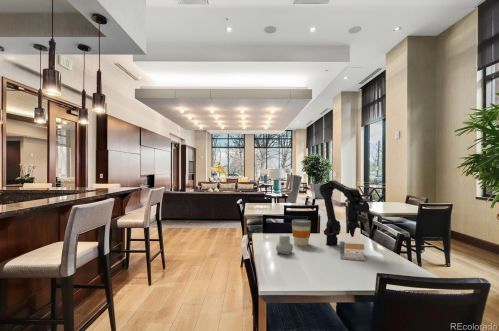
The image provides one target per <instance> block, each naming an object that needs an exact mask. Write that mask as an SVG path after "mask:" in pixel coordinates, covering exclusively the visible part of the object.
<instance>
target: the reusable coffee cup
mask: <svg viewBox="0 0 499 331" xmlns="http://www.w3.org/2000/svg"><path fill="white" fill-rule="evenodd" d="M311 226H312V221H311V220H308V219H302V218H301V219H299V218H297V219H296V218H295V219H292V220H291V227H292V228H291V232H292V237H293V243H294V245H295V246H303V247H304V246H308V245H309V241H310V240H309V239H310V237H311Z"/></svg>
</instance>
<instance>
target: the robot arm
mask: <svg viewBox="0 0 499 331" xmlns="http://www.w3.org/2000/svg"><path fill="white" fill-rule="evenodd" d="M318 190H319V193H320V195H321V196H322V198H323V201H324V205H325V211H326V217H327V220H326V223H325V224H326V225H325V226H326V228H325V229H324V230H323V235H324V236H326V245H325V246H333V247H337V246H338V243H339V242H338V239H339V237H338V236H339V235H340V233H341V228H342V226H341V223H340V221H339V220H338V219H337V218H336V214H335V209H334V208H335V207H334V203H333V198H332V196H333V195H334V192H333V191H335V190H337V191H339V192H341V193H342V194H343V196H344V197H345V198H346V200H344V203H347V212H346V214H347V218H346V226H347V229H348V231H349V233H350V236H351V238H354V236H355V232H356V229H357V228H360V223H363V224H365V225H367V223H368V221H369V218H368V217H366V215H365V213H369V211H370V204H369V203H368V202H367V200H365V199H364V198H363V197H362V194H361V193H360V190H359V189H358V188H353V187H348V186H347V185H345V184H342V183H341V182H339V181H337V180H329V181H327V182H325V183H323V184H320V186H319V188H318ZM360 213H362V214H360ZM359 222H360V223H359Z"/></svg>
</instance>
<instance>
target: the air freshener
mask: <svg viewBox="0 0 499 331" xmlns="http://www.w3.org/2000/svg"><path fill="white" fill-rule="evenodd" d="M290 238H291V236H290V235H289V234H284V233H283V234H280V235H279V242H277V243H276V246H275V251H276V252H277V253H279V254H282V255H289V254H291V253H292V252H293V248H294V246H293V243H291V239H290Z"/></svg>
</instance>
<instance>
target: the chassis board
mask: <svg viewBox="0 0 499 331" xmlns="http://www.w3.org/2000/svg"><path fill="white" fill-rule="evenodd" d="M339 254H340V259H341V260H348V261H349V260H350V261H358V262H365V261H366V260H365V256H364V253H363V250H358V249H346V248H345V249H341V248H340V247H339Z"/></svg>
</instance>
